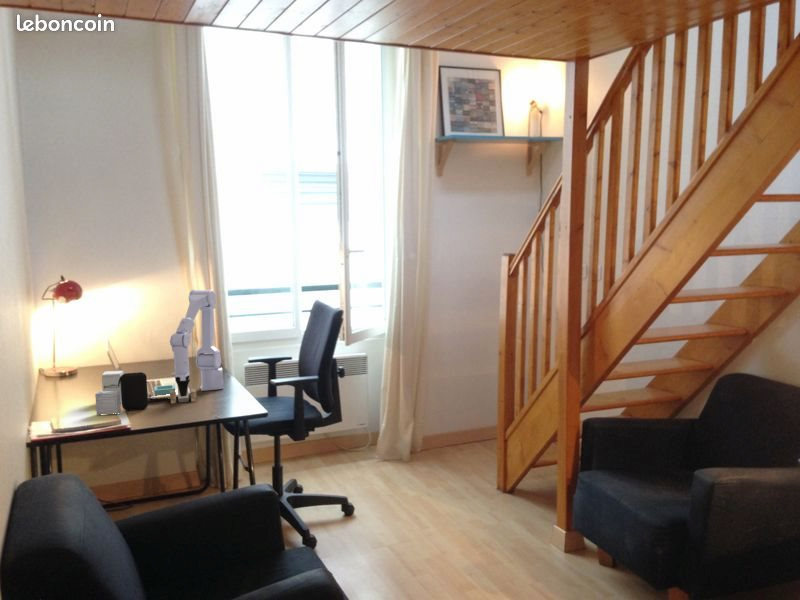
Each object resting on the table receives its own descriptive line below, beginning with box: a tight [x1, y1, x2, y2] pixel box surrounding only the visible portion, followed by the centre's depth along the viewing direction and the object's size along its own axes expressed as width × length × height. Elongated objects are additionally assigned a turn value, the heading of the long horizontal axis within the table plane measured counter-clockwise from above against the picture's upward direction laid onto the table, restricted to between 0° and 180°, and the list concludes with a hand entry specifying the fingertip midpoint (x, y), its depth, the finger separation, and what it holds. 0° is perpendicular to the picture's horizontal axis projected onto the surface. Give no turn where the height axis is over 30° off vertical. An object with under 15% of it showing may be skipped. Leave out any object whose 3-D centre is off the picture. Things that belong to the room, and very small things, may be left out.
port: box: [153, 384, 176, 396], centre depth 310 cm, size 12×12×4 cm
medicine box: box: [94, 390, 122, 416], centre depth 280 cm, size 8×4×9 cm, turn 92°
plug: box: [177, 386, 190, 403], centre depth 300 cm, size 4×4×8 cm
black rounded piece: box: [118, 371, 149, 411], centre depth 286 cm, size 11×3×15 cm, turn 106°
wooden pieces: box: [170, 388, 198, 404], centre depth 300 cm, size 10×6×4 cm, turn 109°
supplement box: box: [101, 370, 124, 405], centre depth 299 cm, size 7×7×13 cm
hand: (183, 394), depth 300 cm, fingers closed on plug, 4 cm apart
